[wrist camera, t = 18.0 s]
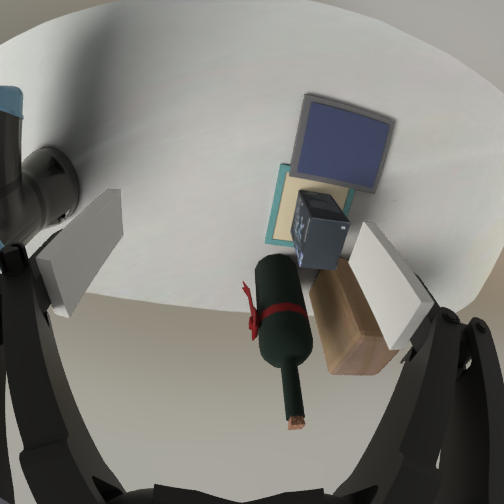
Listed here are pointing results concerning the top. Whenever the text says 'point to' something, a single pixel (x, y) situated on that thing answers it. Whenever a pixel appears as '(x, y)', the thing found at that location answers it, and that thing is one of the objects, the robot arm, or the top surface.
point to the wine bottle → (282, 327)
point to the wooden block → (347, 324)
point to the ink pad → (340, 145)
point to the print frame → (287, 202)
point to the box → (318, 230)
